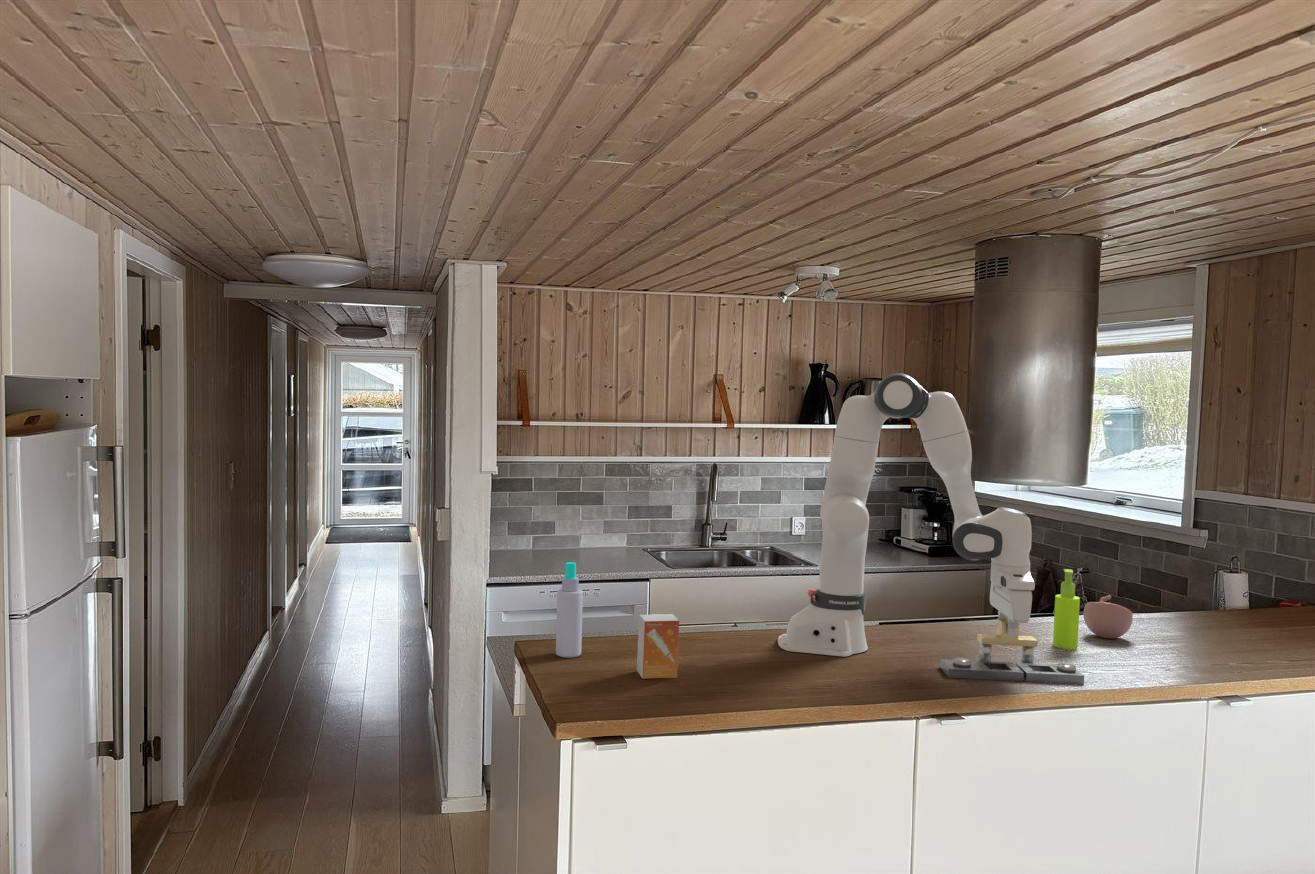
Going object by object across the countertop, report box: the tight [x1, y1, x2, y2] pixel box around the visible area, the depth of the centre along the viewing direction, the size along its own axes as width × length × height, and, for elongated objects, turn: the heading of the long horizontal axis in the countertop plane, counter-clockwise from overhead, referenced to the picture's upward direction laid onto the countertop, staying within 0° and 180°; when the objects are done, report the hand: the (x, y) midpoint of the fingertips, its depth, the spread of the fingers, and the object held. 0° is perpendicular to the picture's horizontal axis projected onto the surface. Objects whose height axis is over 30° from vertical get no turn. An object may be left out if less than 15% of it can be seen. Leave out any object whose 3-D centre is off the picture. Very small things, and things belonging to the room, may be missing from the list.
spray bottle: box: [555, 561, 584, 659], centre depth 219 cm, size 6×6×22 cm
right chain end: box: [1014, 662, 1085, 685], centre depth 213 cm, size 13×8×3 cm, turn 86°
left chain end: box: [939, 657, 1025, 682], centre depth 214 cm, size 17×8×3 cm, turn 86°
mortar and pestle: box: [1083, 594, 1134, 640], centre depth 251 cm, size 12×12×11 cm
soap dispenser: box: [1052, 568, 1081, 650], centre depth 241 cm, size 6×7×20 cm
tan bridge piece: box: [976, 617, 1039, 664], centre depth 223 cm, size 13×4×10 cm, turn 86°
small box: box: [636, 613, 680, 680], centre depth 206 cm, size 8×6×13 cm
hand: (1007, 632), depth 223 cm, fingers closed on tan bridge piece, 4 cm apart
